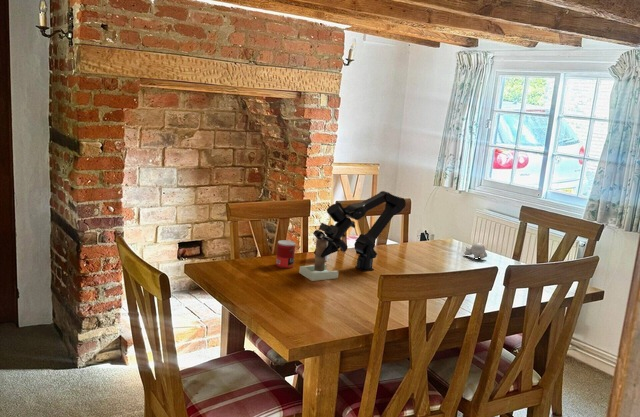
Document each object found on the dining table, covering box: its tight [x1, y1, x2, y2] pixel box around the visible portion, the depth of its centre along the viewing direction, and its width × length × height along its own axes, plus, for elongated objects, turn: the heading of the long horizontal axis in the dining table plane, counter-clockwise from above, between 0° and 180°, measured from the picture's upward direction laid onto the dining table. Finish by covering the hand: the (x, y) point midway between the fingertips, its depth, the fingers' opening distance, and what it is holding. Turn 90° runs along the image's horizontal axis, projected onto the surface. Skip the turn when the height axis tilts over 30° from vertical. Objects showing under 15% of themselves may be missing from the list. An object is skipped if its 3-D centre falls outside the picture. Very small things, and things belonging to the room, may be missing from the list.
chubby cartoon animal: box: [463, 242, 488, 260], centre depth 300 cm, size 7×12×8 cm, turn 49°
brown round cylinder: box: [313, 239, 327, 271], centre depth 249 cm, size 4×4×13 cm
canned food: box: [275, 239, 296, 269], centre depth 259 cm, size 8×8×11 cm
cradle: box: [298, 263, 340, 282], centre depth 250 cm, size 13×11×3 cm
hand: (317, 255), depth 248 cm, fingers closed on brown round cylinder, 4 cm apart
